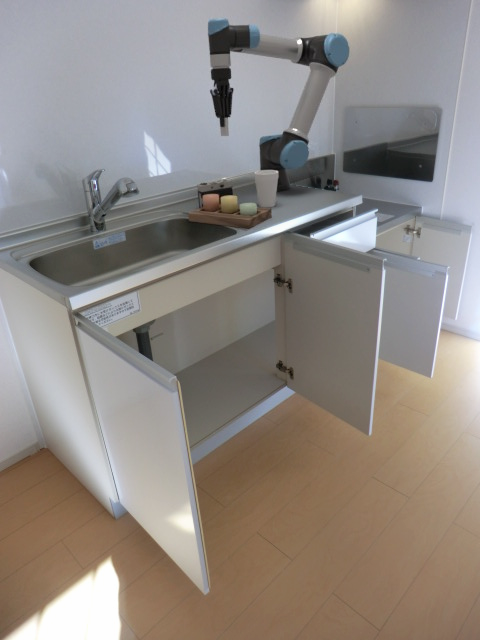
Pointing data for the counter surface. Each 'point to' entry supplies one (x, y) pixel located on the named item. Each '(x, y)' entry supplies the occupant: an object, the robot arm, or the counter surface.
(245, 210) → the pale green cylinder
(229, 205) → the yellow short cylinder
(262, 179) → the foam cup
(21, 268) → the counter surface
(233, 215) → the walnut board
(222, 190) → the camera
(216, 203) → the pink short cylinder
